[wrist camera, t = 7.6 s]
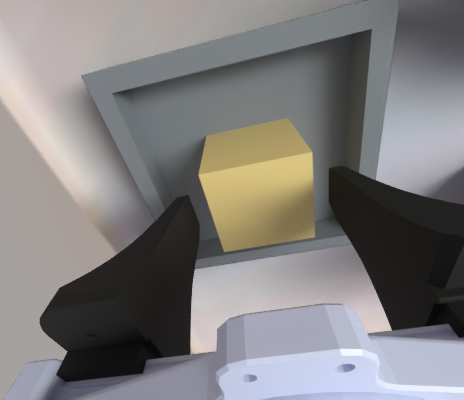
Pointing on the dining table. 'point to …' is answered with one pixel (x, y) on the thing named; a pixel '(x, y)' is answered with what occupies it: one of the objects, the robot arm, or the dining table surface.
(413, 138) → the dining table surface
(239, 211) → the mustard block
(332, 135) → the tray
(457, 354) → the robot arm
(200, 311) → the dining table surface
